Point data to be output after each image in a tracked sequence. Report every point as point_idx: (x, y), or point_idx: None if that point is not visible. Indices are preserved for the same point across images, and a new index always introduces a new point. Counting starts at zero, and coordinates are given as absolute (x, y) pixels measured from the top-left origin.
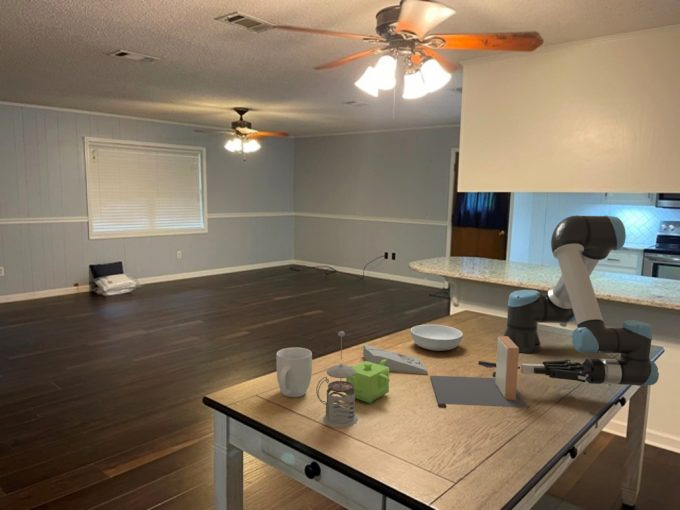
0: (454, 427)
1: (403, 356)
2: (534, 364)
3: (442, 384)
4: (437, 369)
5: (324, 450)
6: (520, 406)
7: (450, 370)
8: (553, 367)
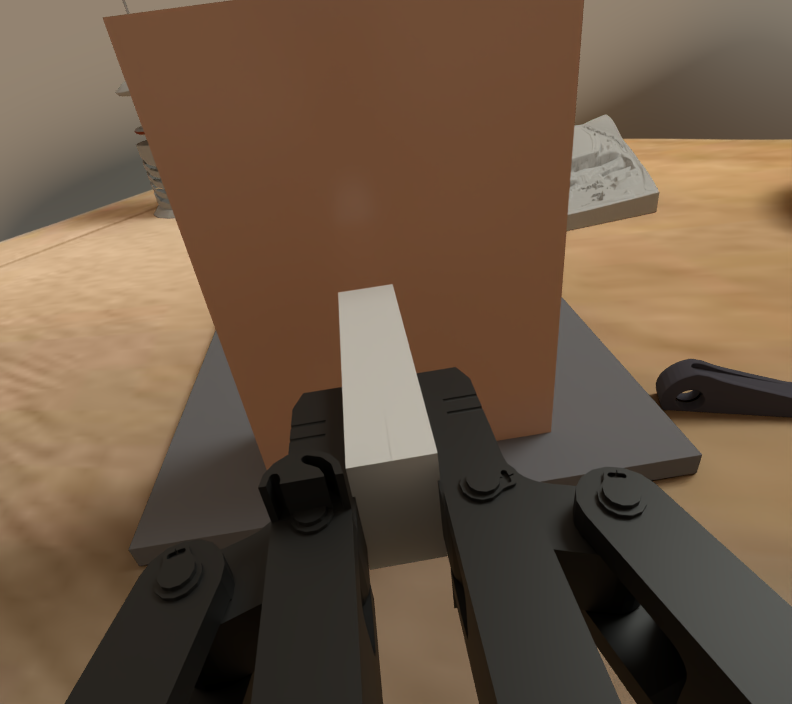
0: (78, 322)
1: (630, 169)
2: (392, 364)
3: None
4: (627, 243)
5: (73, 218)
6: (159, 497)
7: (652, 266)
8: (300, 634)
